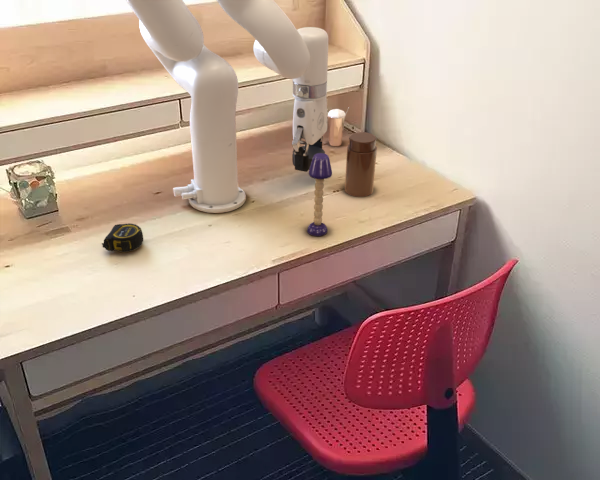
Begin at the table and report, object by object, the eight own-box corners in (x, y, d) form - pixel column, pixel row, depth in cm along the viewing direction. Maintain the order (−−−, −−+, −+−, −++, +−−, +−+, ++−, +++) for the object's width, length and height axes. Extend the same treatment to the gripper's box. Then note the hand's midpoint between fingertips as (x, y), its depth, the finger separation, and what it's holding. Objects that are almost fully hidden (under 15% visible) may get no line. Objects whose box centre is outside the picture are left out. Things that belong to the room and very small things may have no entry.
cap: (300, 154, 163) (300, 143, 161) (329, 160, 160) (330, 148, 158) (287, 166, 157) (287, 155, 155) (317, 172, 155) (317, 161, 153)
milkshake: (347, 147, 176) (349, 110, 170) (326, 147, 176) (328, 109, 170) (346, 140, 180) (348, 103, 174) (326, 140, 180) (328, 103, 174)
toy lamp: (305, 225, 143) (307, 151, 133) (327, 224, 144) (330, 150, 134) (308, 237, 139) (311, 161, 129) (331, 235, 140) (335, 160, 130)
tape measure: (117, 236, 138) (114, 220, 136) (149, 239, 137) (147, 223, 135) (103, 253, 132) (100, 237, 130) (137, 257, 132) (134, 240, 129)
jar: (351, 198, 153) (355, 144, 146) (339, 186, 158) (342, 133, 151) (378, 194, 155) (383, 140, 148) (365, 182, 160) (369, 129, 153)
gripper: (310, 104, 140) (308, 181, 151) (340, 79, 153) (336, 152, 164) (277, 98, 143) (278, 175, 153) (309, 74, 156) (308, 146, 166)
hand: (308, 162), depth 159 cm, fingers closed on cap, 7 cm apart
